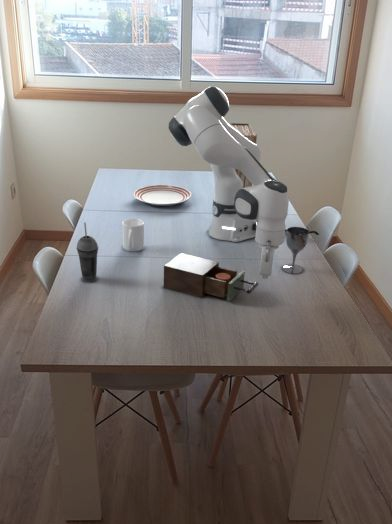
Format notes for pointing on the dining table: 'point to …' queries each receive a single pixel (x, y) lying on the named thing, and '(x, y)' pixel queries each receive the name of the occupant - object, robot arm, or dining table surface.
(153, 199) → the dinner plate
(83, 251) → the beverage cup
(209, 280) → the drawer
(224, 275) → the orange cylinder puck
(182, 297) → the dining table surface
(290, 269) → the wine glass
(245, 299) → the dining table surface
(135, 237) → the mug
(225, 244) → the dining table surface
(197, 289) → the cabinet
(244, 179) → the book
